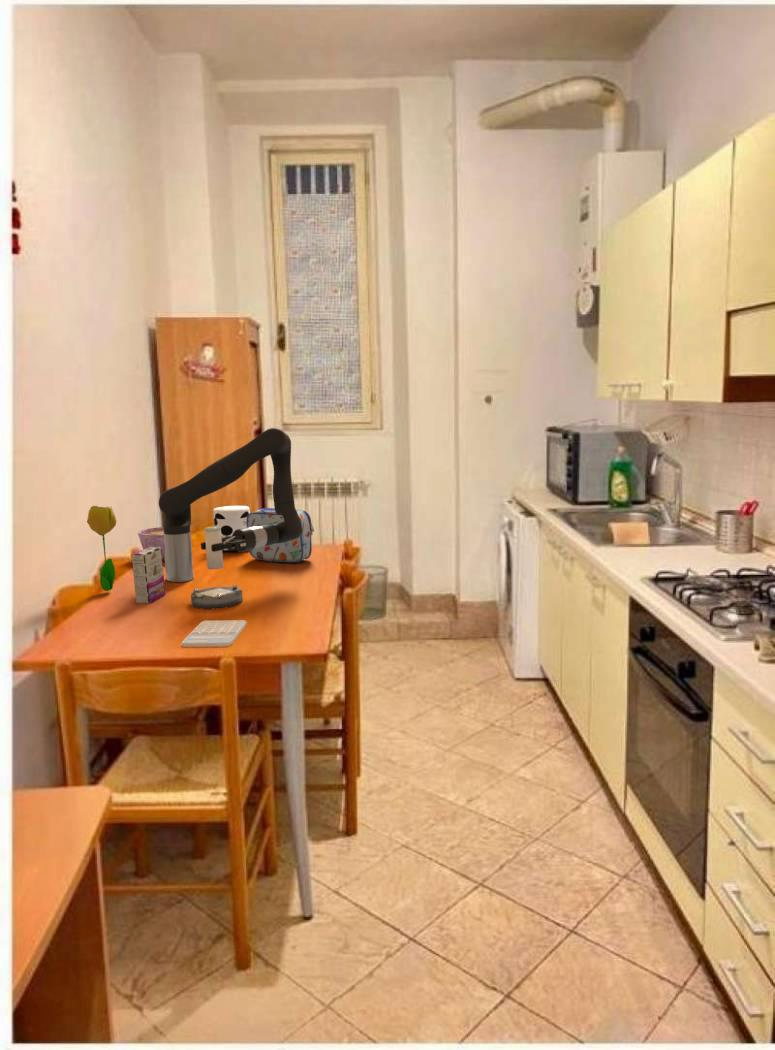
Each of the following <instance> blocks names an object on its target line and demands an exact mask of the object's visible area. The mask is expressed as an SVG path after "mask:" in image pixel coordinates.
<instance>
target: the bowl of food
mask: <svg viewBox="0 0 775 1050" xmlns="http://www.w3.org/2000/svg"><path fill="white" fill-rule="evenodd" d="M163 527H164V526H160V527H152V528H151V527H150V528H145V529H141V530H139V531H138V532H137V535H138V538H139V541H140V544H141V547H142V550H143V549H146V548H148V547H161V552H162V559H165V556H164V554H165V541H164V529H163Z"/></svg>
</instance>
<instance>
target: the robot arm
mask: <svg viewBox="0 0 775 1050" xmlns="http://www.w3.org/2000/svg"><path fill="white" fill-rule="evenodd" d="M269 456H270V459H271V463H272V467H273V483H272V498H273V506H274V508H275V512H276V513H277V514H279V515H282V516H283V518H284V522H281V523H277V524H273V525H271V524H268V525H262V526H253V527H247V528H242V529H237V530H235V531H234V532H233V535H232V537H231V536H225V537H222V536H221V539H222V543H218V544H212V545H211V549H212V551H213V552H215V551H220V550H229V551H228V552H232V551H231V550H237V551H236V552H239V553H243V552H249V550H253V549H258V548H260V547H263V546H268V545H272V544H277V543H283V542H287V541H291V540H294V539H297V538H299V537H300V535H301V533H302V524H301V521H300V518H299V516H298V513H297V511H296V510H297V509H296V506H295V496H294V489H293V482H292V468H291V467H292V466H291V462H292V461H291V459H292V457H291V456H292V441H291V437H290V436H289V435H288V434H287V433H286V432H284V430H282V429H281V428H278V427H271V428H268V429H266V430H264V431H263V432H261V433H260V434H258V435H257V436H256V437H254V438H253V439H251V441H249V442H248V443H246V444H245V445H243V446H241V447H239V448H238V449H235V450H234V451H232V452H230V453H228V454H227V455H225V456H222V457H221V458H220V459H218V460H216V461H214V462H213V463H211V464H210V465H207V467H205V468H203V469H202V470H200V472H198V473H197V474H196V475H194V476H193V477H191V478H190V479H189V480H187V481H185V482H183V483H181V484H179V485H177V486H174V487H171V488H168V489H166V490H165V491H163V492H162V493H161V494H160V496H159V499H158V508H159V509H160V510H161V512H162V513H164V514H165V515H164V516H165V519H164V524H163V526H162V527H163V529H164V541H165V554H164V556H165V560H164V565H165V566H164V568H165V569H164V570H165V579H166V580H167V581H168V582H170V581H171V583H181V582H182V583H183V582H189V581H191V580H193V579H194V565H193V549H192V548H193V547H192V535H191V525H192V507H191V504H193V503H195V502H196V501H198V500H200V499H201V498H203V497H206V496H208V495H210V494H213V493H214V492H215V493H216V492H217V491H219V490H221V489H224V488H226V487H227V486H229V485H231V484H232V483H234V482H236V481H238V480H239V479H240V478H241V477H243V475H245V474H246V472H248V470H249V469H250V468H251V467H252V466H253V465H254V464H256V463H257V462H259V461H260V460H262V459H264V458H266V457H269ZM200 549H201V550H203V551H204V550H205V551H206V543H205V541H203V542H201V543H200Z"/></svg>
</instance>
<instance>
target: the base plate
mask: <svg viewBox="0 0 775 1050" xmlns="http://www.w3.org/2000/svg"><path fill="white" fill-rule="evenodd" d="M192 590H193V591H192V593H190V601H191V602H190V603H191V606H192V607H193V608H195V607H196V609H200V608H203V610H217V609H216V608H220V609H226V608H225V607H227V608H231V607H230V606H232V607H235V606H238V605H240V604H241V603H243V590H242V589H241V588H238V585H237V584H232V587H231V586H216V587H215V586H213V587H207V588H203V589H202V588H201V589H199V588H196V587H194V588H193V589H192ZM239 603H240V604H239ZM237 604H238V605H237ZM234 605H235V606H234ZM212 608H213V609H212ZM214 608H215V609H214Z"/></svg>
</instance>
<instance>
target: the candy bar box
mask: <svg viewBox="0 0 775 1050" xmlns="http://www.w3.org/2000/svg"><path fill="white" fill-rule="evenodd" d="M130 556H131V564H132V573H133V574H132V575H133V583H134V593H135V594H134V595H135V603H136V604H138V603H139V605H141V603H142V604H145V605H146V604H147V605H149V604H152V603H153V602H156V601H157V600H159V599H160V597H161V598H162V597H164V596H165V595H166V587H165V578H164V576H165V575H164V574H165V573H164V566H163V560H162V552H161V547H148V548H146V549H143V548H142V549H141V550H139V551H137V552H134V553H132V554H131V555H130ZM151 602H152V603H151Z"/></svg>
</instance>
